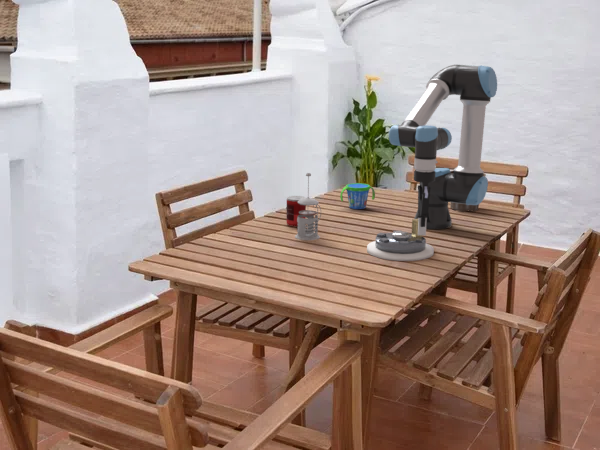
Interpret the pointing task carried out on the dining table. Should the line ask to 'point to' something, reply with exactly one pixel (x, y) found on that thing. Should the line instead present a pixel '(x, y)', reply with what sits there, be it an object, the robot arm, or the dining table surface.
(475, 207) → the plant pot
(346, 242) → the dining table surface
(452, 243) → the dining table surface
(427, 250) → the housing plate
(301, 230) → the french press
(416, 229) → the grey round piece
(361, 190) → the snack cup
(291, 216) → the canned food
